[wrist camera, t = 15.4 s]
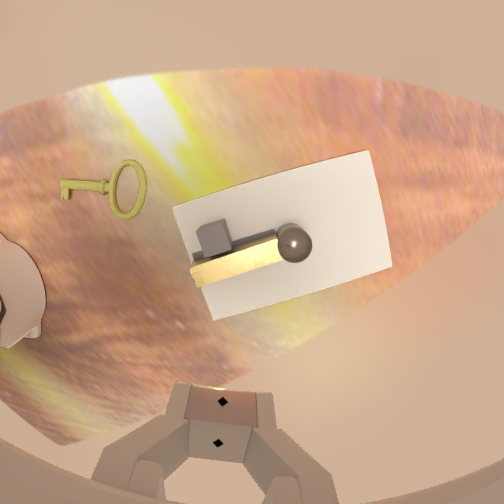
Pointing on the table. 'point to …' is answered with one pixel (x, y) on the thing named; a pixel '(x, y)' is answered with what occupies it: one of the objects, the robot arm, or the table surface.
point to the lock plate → (291, 211)
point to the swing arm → (254, 255)
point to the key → (110, 188)
